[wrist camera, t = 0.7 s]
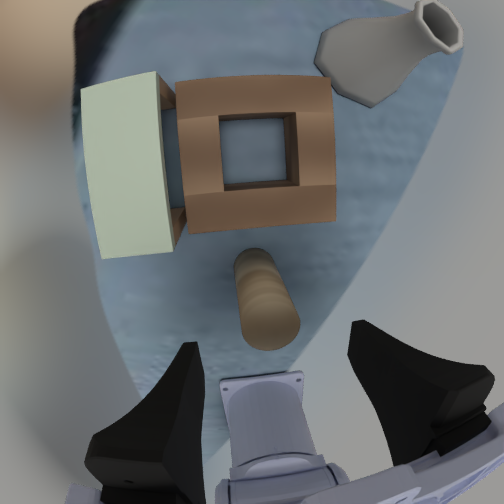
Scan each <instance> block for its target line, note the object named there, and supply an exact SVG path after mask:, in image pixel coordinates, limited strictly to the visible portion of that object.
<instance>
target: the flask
mask: <svg viewBox="0 0 504 504" xmlns="http://www.w3.org/2000/svg"><path fill="white" fill-rule="evenodd" d="M462 47H463V28H462V27H461V25H460V24H459V22H458V21H457V19H456V18H455V16H454V15H453V13H452V12H451V11H450V9H448V8H447V7H446V6H445V5H443V4H442V3H441V2H439V1H438V0H420V1H417V2H416V3H415V9H414V10H413V11H411V12H409V13H406V14H402V15H398V16H392V17H376V18H355V19H348V20H346V21H344V22H342V23H339V24H337V25H335V26H333V27H331V28H329V29H327V30H325V31H324V32H322V35H321V39H320V43H319V46H318V50H317V54H316V58H315V61H314V63H315V64H316V65H317V67H318V68H319V69H320V70H321V72H322V73H323V74H324V75H325V77H330V78H331V85H332V86H333V87H334V89H335V90H336V91H337V93H338V94H340V95H343V96H345V97H347V98H350V99H352V100H355V101H357V102H359V103H361V104H364V105H366V106H368V107H370V108H373V107H374V106H376V105H377V104H379V103H380V102H381V101H383V100H384V99H386V98H387V97H389V96H390V95H392V94H393V93H394V92H396V91H397V89H398V88H399V87H400V86H401V84H402V83H403V82H404V80H405V79H406V78H407V76H408V75H409V74H410V73H411V71H412V70H413V69H414V68H415V67H416V66H417V65H418V63H419V62H420V61H421V60H422V59H423V58H425V57H426V56H428V55H430V54H433V53H436V52H439V51H442V52H443V53H445V54H448V55H450V54H452V53H454V52H456V51H457V50H459V49H461V48H462Z"/></svg>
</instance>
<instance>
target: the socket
mask: <svg viewBox="0 0 504 504" xmlns="http://www.w3.org/2000/svg"><path fill="white" fill-rule="evenodd" d="M175 92H176V110H177V125H178V138H179V150H180V161H181V171H182V181H183V191H184V200H185V208H186V217H187V225H188V232H189V234H196V233H206V232H216V231H226V230H237V229H247V228H258V227H270V226H281V225H294V224H306V223H319V222H332V221H336V156H335V133H334V115H333V101H332V89H331V78H330V77H320V76H300V75H250V76H230V77H217V78H206V79H196V80H188V81H180V82H175ZM266 118H283V120H284V136H285V154H286V173H287V180H276V181H260V182H247V183H235V184H223V172H222V159H221V146H220V133H219V121H230V120H245V119H266Z"/></svg>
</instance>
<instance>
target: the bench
mask: <svg viewBox="0 0 504 504" xmlns="http://www.w3.org/2000/svg"><path fill="white" fill-rule="evenodd" d="M173 108H176V96H175V93H174V92H173V91H172V90H171V89H170V87H169V86H168V85H167V84H166V83H165V81H164V80H163V79H162V78H161V77H160V75H159V74H158V73H157V72H156V71H153V72H148V73H143V74H138V75H133V76H129V77H124V78H120V79H116V80H112V81H108V82H104V83H101V84H97V85H94V86H90V87H87V88H84V89H81V111H82V131H83V144H84V155H85V165H86V173H87V181H88V188H89V195H90V201H91V207H92V213H93V219H94V224H95V229H96V234H97V239H98V244H99V248H100V253H101V257H102V259H107V258H117V257H126V256H136V255H146V254H155V253H165V252H173V251H174V249H175V246H176V244H177V242H178V240H179V237H180V235H181V233H182V231H183V228H184V226H185V224H186V222H187V218H186V210H185V207H181V208H173V209H171V210H170V204H169V196H168V188H167V179H166V169H165V159H164V148H163V136H162V123H161V110H166V109H173Z"/></svg>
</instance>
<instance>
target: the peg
mask: <svg viewBox="0 0 504 504" xmlns="http://www.w3.org/2000/svg"><path fill="white" fill-rule="evenodd" d="M234 273H235V281H236V289H237V297H238V305H239V313H240V321H241V328H242V334H243V337H244V339H245V341H246V342H247V343H248V344H249V345H250V346H252V347H254V348H256V349H259V350H264V351H271V350H277V349H280V348H282V347H284V346H286V345H288V344H289V343H290V342H292V341H293V340H294V338H295V337H296V336H297V334H298V332H299V329H300V318H299V316H298V313H297V311H296V309H295V307H294V305H293V302H292V300H291V298H290V296H289V294H288V291H287V289H286V287H285V285H284V283H283V281H282V278H281V276H280V274H279V272H278V270H277V268H276V266H275V263H274V261H273V259H272V257H271V256H270V254H269V253H268V252H266V251H265V250H262V249H259V248H250V249H247V250H245V251H243V252H242V253H240V254H239V255H238V257H237V258H236V260H235V263H234Z"/></svg>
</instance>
